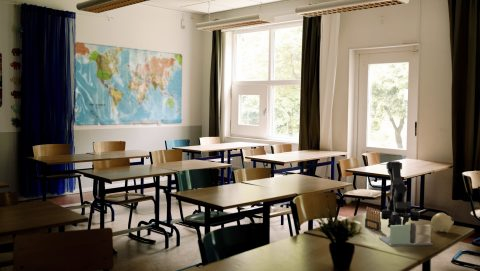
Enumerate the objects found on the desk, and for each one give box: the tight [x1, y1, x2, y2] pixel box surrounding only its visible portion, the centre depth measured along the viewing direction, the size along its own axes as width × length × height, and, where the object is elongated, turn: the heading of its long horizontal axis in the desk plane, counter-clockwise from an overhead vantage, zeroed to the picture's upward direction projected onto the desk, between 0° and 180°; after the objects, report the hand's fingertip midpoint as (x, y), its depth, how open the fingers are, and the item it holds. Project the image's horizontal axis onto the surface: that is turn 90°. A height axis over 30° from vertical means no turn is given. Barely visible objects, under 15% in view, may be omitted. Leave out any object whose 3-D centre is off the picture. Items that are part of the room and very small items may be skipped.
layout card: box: [378, 236, 434, 247], centre depth 241 cm, size 22×14×1 cm, turn 98°
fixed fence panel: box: [409, 222, 432, 244], centre depth 236 cm, size 10×2×10 cm, turn 98°
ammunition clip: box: [364, 206, 382, 232], centre depth 263 cm, size 11×2×12 cm, turn 30°
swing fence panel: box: [389, 224, 411, 244], centre depth 235 cm, size 10×1×9 cm, turn 99°
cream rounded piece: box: [430, 212, 455, 233], centre depth 258 cm, size 10×12×11 cm
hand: (401, 229), depth 240 cm, fingers closed
